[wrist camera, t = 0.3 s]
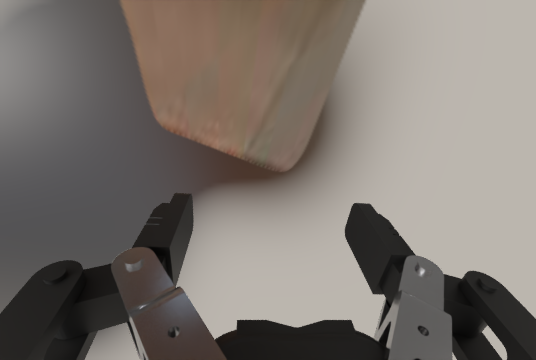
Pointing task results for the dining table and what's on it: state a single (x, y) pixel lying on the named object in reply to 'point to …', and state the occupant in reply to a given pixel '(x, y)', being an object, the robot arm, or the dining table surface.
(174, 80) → the dining table surface
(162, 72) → the dining table surface
